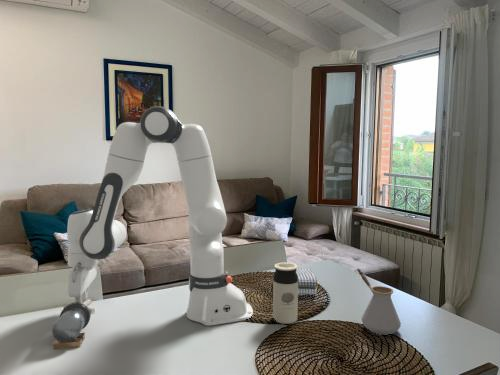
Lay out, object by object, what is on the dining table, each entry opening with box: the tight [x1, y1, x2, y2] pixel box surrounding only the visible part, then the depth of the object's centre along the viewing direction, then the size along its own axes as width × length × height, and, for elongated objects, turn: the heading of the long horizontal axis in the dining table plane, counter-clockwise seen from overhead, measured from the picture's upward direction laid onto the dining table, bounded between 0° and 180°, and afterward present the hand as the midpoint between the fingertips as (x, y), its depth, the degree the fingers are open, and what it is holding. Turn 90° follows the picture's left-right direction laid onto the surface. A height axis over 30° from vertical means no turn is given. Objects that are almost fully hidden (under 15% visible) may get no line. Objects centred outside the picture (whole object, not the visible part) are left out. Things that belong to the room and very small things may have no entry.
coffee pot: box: [354, 268, 402, 336], centre depth 124 cm, size 21×12×15 cm, turn 13°
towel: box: [296, 267, 318, 296], centre depth 155 cm, size 15×18×8 cm
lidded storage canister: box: [51, 302, 92, 350], centre depth 112 cm, size 10×8×9 cm
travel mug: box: [272, 262, 299, 325], centre depth 126 cm, size 8×8×18 cm
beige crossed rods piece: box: [63, 296, 96, 315], centre depth 122 cm, size 10×10×10 cm
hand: (83, 299), depth 127 cm, fingers closed
